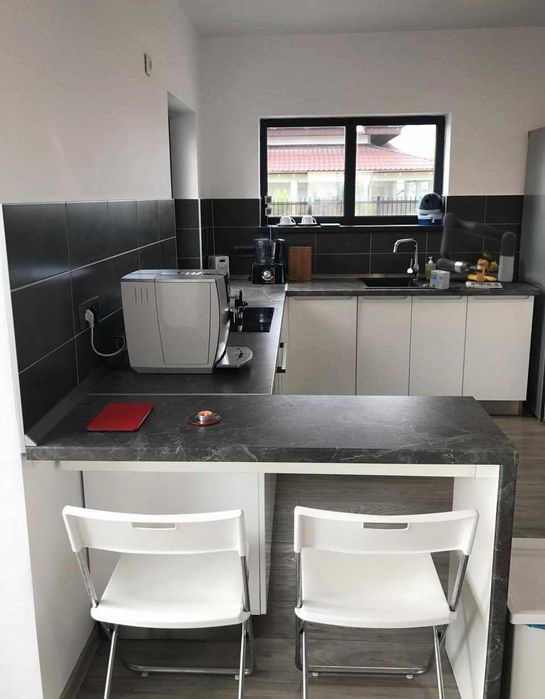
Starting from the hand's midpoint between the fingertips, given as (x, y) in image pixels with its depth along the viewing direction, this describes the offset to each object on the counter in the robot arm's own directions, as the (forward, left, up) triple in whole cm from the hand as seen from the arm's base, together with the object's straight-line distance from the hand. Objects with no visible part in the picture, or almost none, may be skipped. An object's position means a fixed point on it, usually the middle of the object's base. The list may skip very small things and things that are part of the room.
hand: (484, 271), depth 449 cm
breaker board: (0, 0, -10) cm, 10 cm away
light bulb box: (+29, +13, -10) cm, 33 cm away
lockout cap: (+2, -2, -7) cm, 7 cm away
